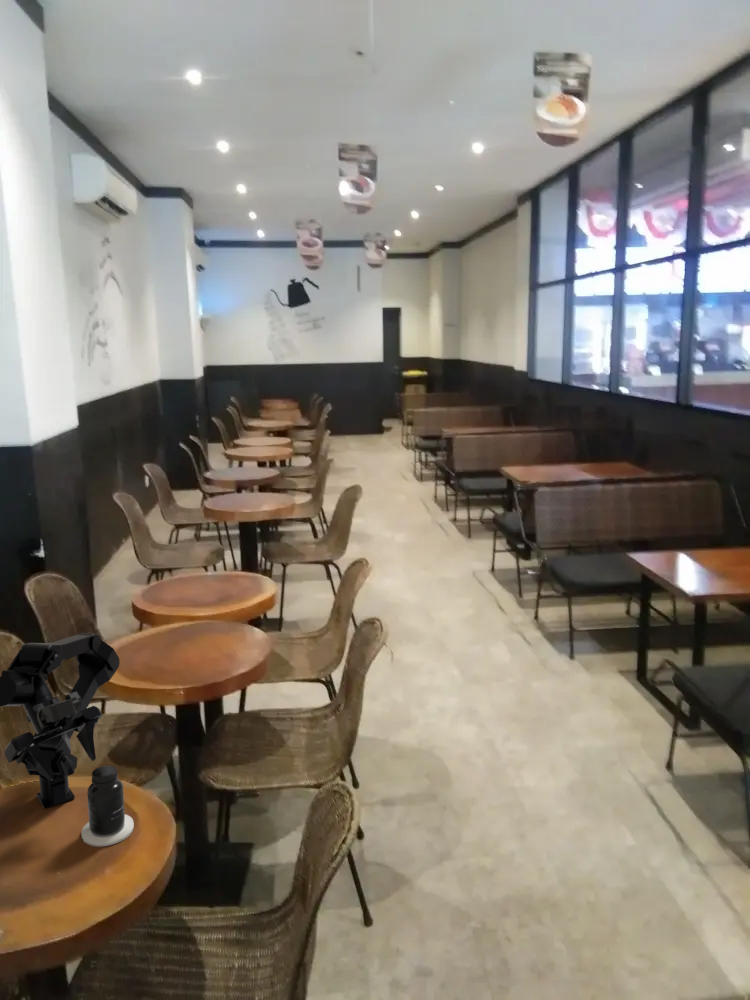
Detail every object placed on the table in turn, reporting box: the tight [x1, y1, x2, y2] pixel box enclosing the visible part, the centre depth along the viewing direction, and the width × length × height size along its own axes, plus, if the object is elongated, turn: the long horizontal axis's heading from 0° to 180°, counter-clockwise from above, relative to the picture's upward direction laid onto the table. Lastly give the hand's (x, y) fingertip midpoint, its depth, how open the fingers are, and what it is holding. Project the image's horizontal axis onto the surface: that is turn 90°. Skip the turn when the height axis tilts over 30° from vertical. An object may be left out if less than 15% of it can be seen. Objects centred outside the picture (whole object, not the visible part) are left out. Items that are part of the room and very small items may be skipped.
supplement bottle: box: [86, 765, 126, 835], centre depth 156 cm, size 7×7×12 cm
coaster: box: [81, 813, 135, 848], centre depth 157 cm, size 10×10×1 cm
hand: (73, 769), depth 155 cm, fingers open, 9 cm apart
